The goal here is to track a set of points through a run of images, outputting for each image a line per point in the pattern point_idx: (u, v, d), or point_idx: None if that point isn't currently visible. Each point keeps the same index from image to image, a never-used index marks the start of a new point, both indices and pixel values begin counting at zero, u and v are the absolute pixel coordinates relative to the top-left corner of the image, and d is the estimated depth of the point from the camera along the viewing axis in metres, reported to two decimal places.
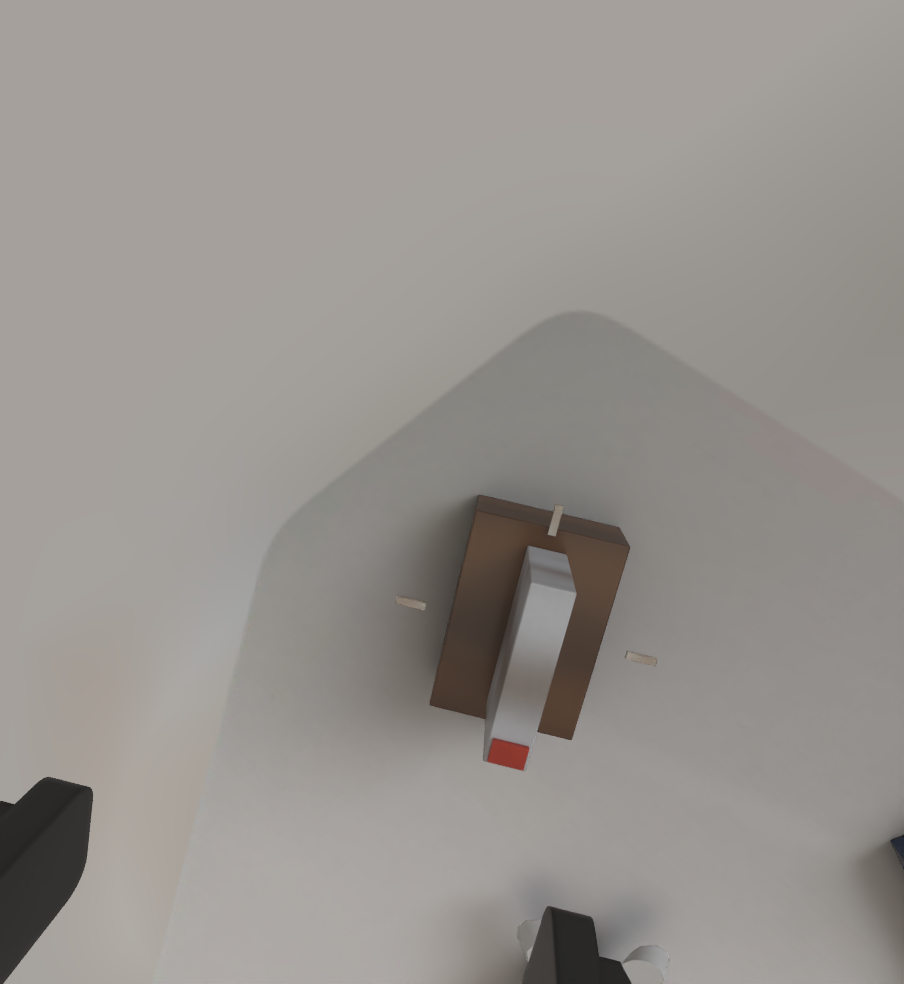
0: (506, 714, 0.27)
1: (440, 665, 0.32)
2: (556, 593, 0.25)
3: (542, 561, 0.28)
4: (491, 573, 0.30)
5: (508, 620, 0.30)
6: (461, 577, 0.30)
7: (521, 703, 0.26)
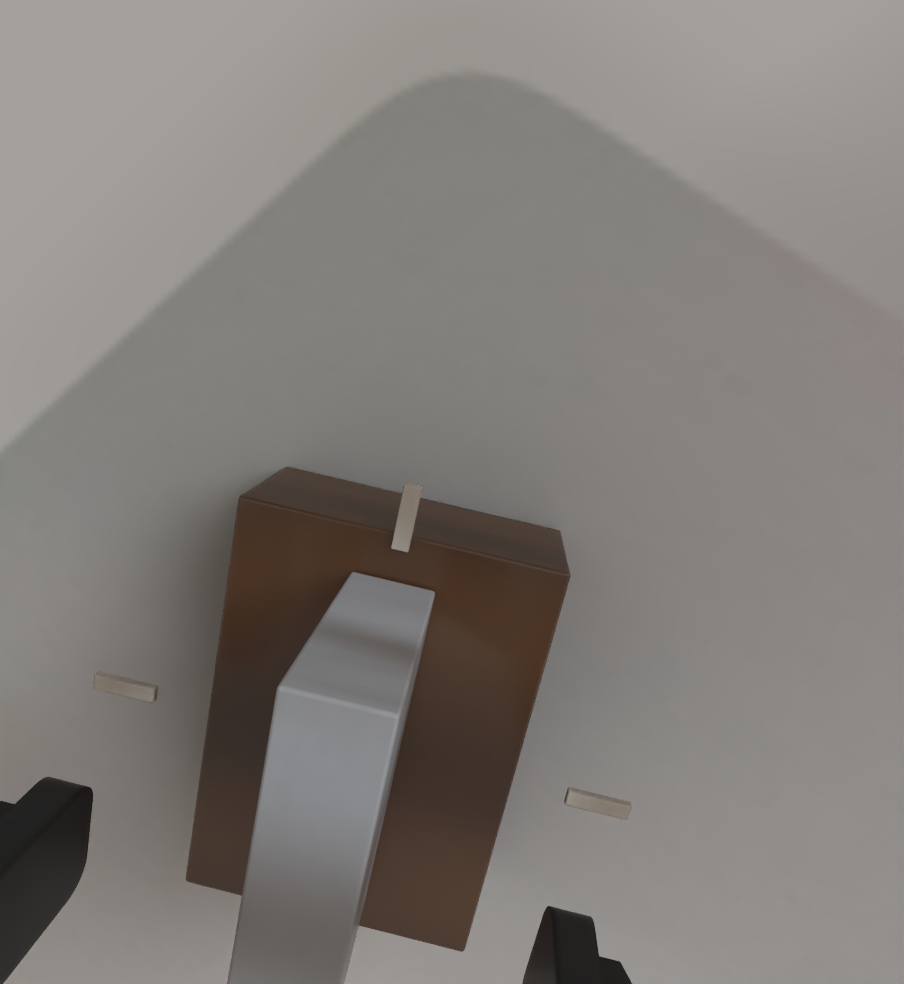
0: None
1: (198, 808, 0.16)
2: (347, 716, 0.09)
3: (359, 613, 0.12)
4: (281, 630, 0.14)
5: None
6: (222, 636, 0.15)
7: (283, 973, 0.11)
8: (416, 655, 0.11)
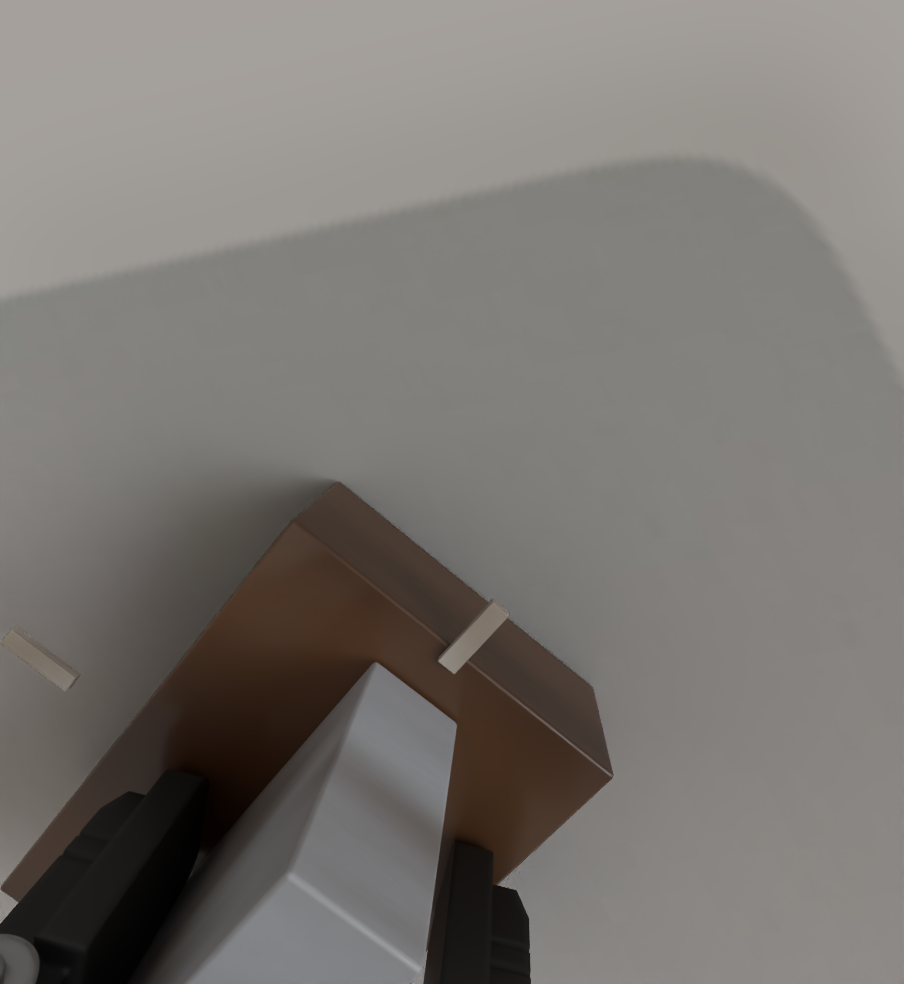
0: None
1: (57, 821, 0.13)
2: (357, 944, 0.07)
3: (383, 743, 0.10)
4: (262, 683, 0.12)
5: (250, 807, 0.12)
6: (187, 657, 0.12)
7: None
8: (440, 843, 0.09)
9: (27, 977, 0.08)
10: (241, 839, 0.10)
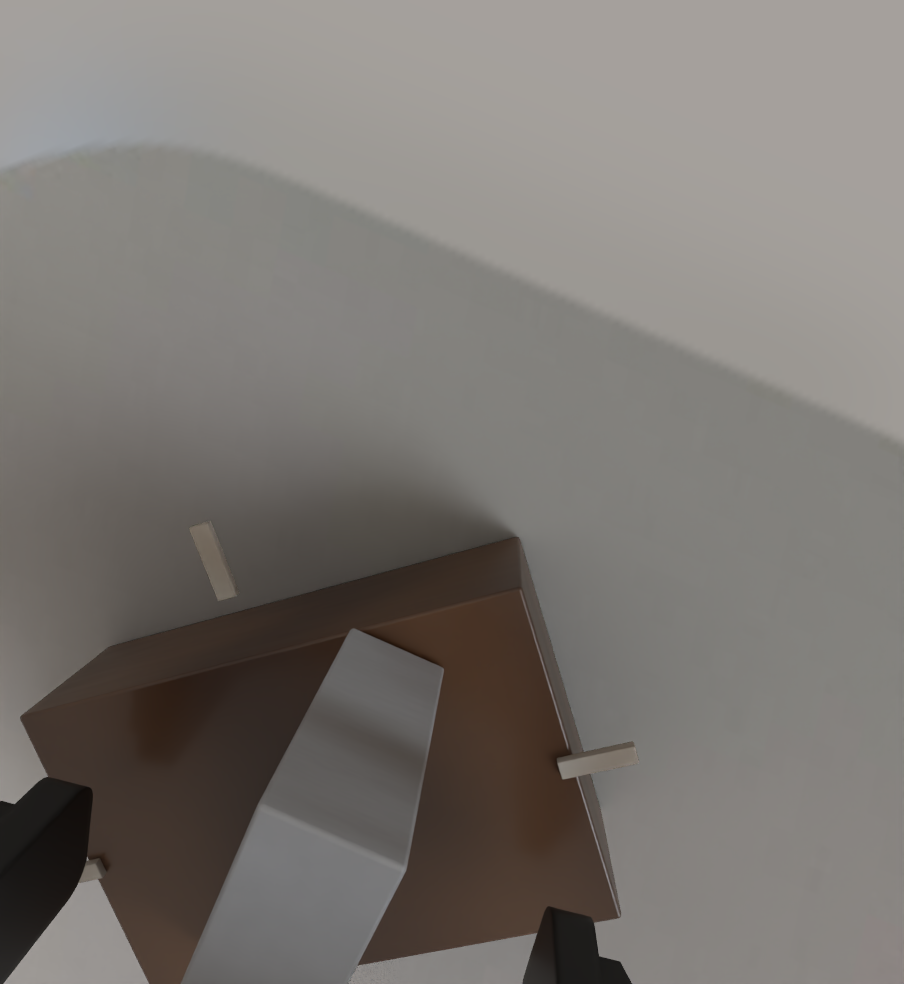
0: None
1: (120, 694, 0.13)
2: (340, 856, 0.07)
3: (360, 693, 0.10)
4: None
5: None
6: (345, 636, 0.12)
7: None
8: (425, 766, 0.09)
9: None
10: None
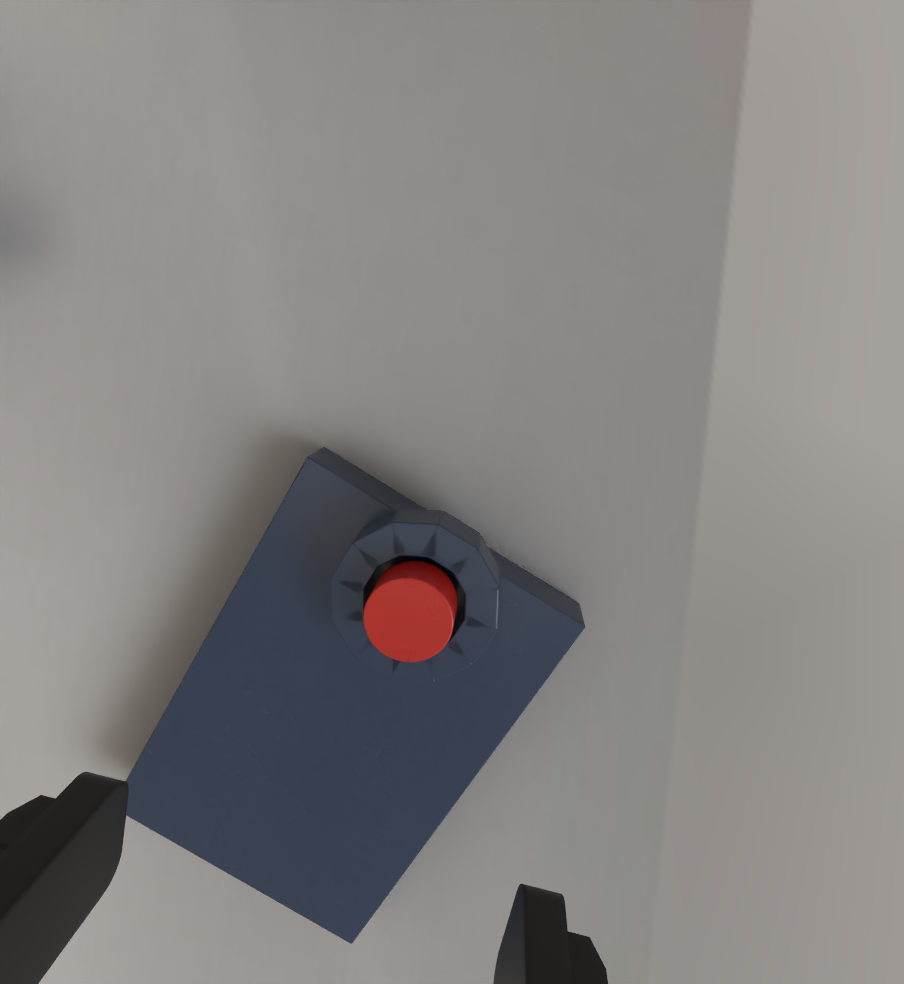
0: None
1: None
2: None
3: None
4: None
5: None
6: None
7: None
8: None
9: None
10: None
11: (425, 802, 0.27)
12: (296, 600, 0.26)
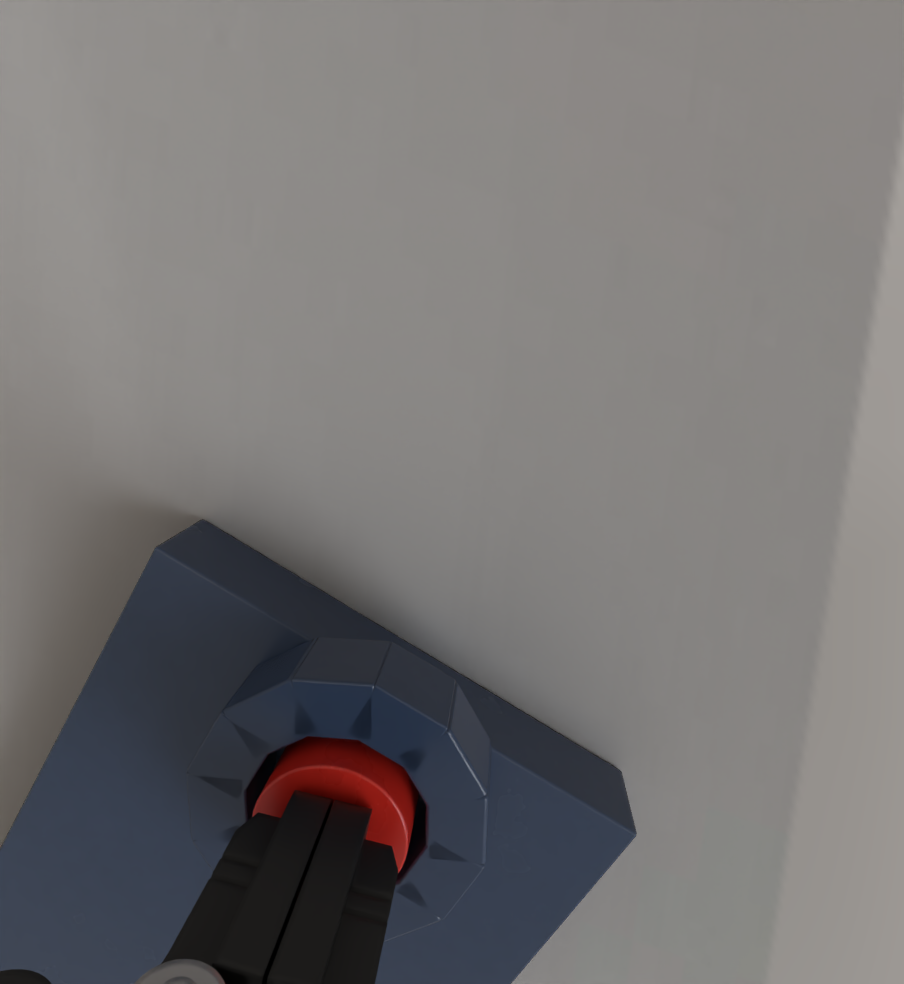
0: None
1: None
2: None
3: None
4: None
5: None
6: None
7: None
8: None
9: None
10: None
11: None
12: (149, 779, 0.15)
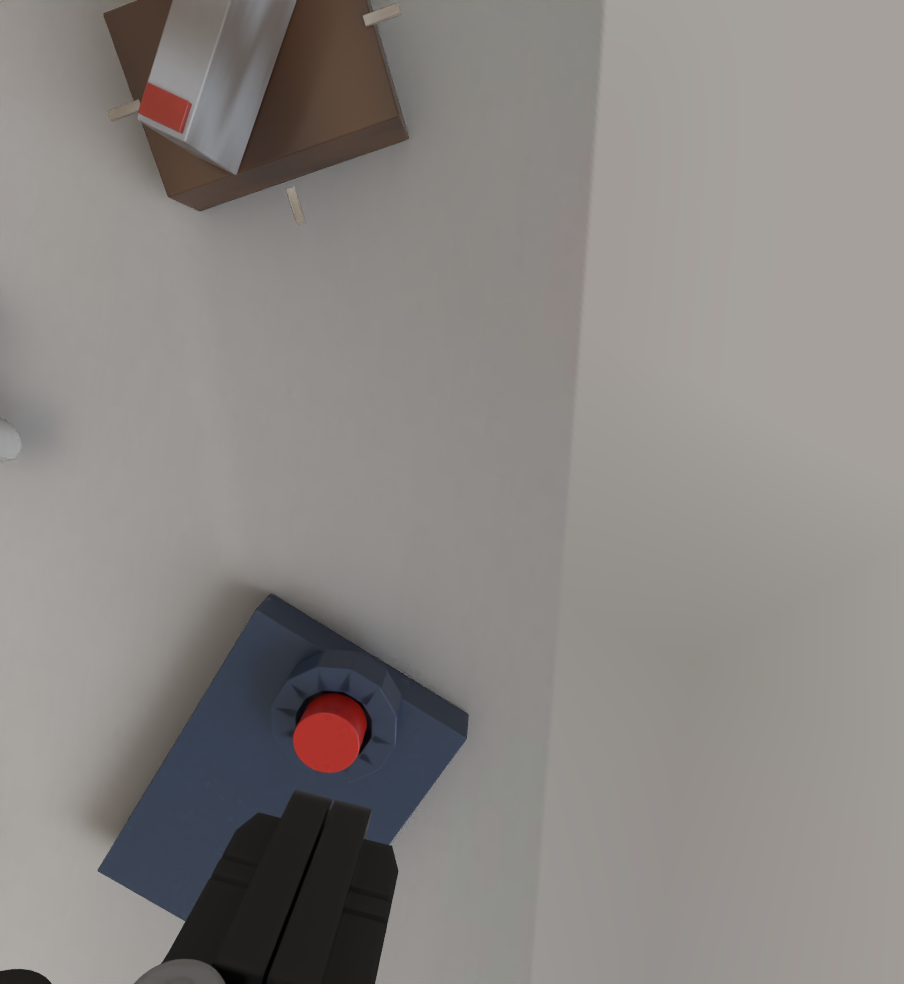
0: (169, 52, 0.22)
1: None
2: None
3: None
4: None
5: None
6: None
7: (188, 38, 0.22)
8: None
9: None
10: None
11: None
12: (246, 715, 0.33)
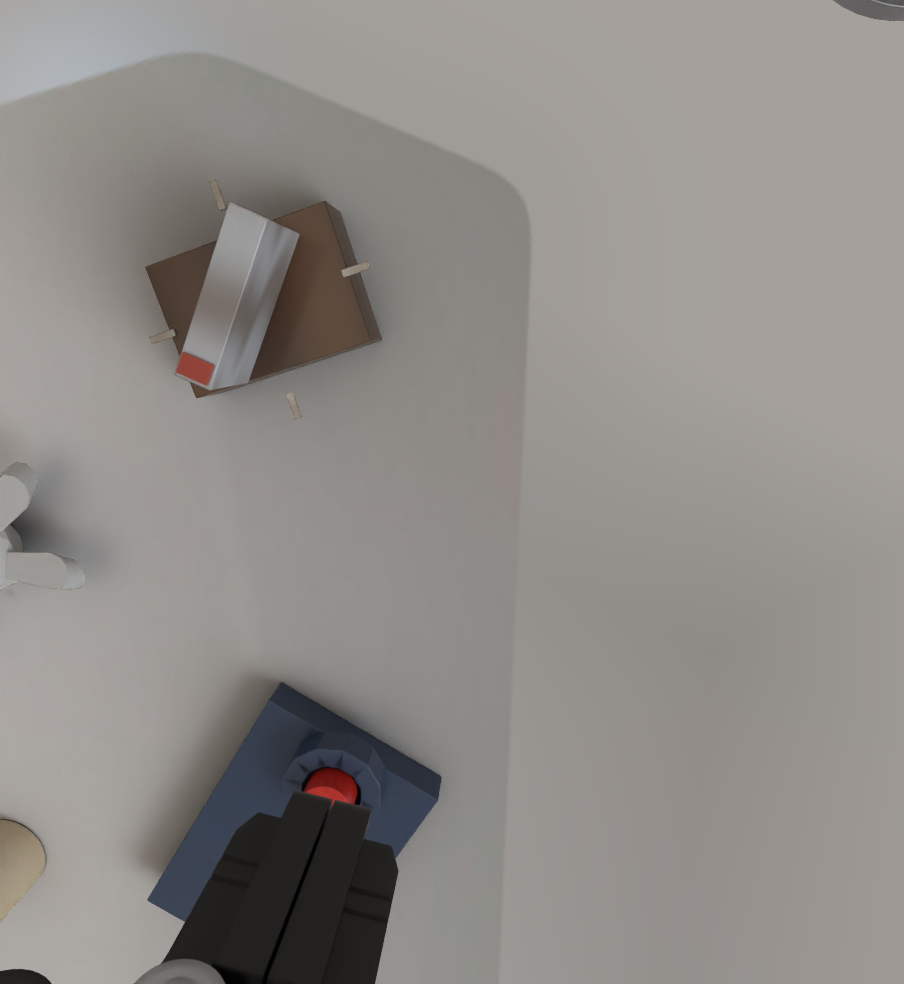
0: (198, 330, 0.30)
1: (183, 254, 0.34)
2: (250, 215, 0.29)
3: None
4: None
5: None
6: None
7: (211, 321, 0.30)
8: (281, 225, 0.30)
9: None
10: None
11: None
12: (263, 780, 0.42)
